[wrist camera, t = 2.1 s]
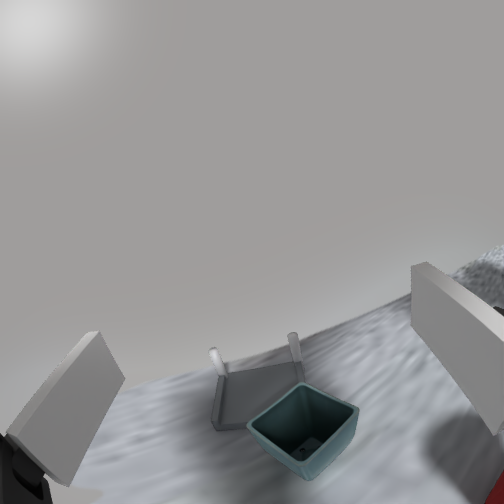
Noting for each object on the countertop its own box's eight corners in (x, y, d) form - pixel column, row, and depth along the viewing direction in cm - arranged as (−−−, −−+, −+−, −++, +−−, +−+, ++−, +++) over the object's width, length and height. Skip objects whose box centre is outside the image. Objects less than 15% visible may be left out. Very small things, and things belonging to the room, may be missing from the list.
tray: (303, 365, 45) (296, 331, 43) (314, 416, 34) (307, 382, 32) (222, 380, 47) (209, 348, 45) (214, 431, 35) (196, 399, 33)
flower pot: (262, 461, 29) (243, 423, 26) (310, 422, 33) (301, 379, 31) (310, 498, 22) (301, 468, 19) (360, 449, 26) (361, 408, 24)
